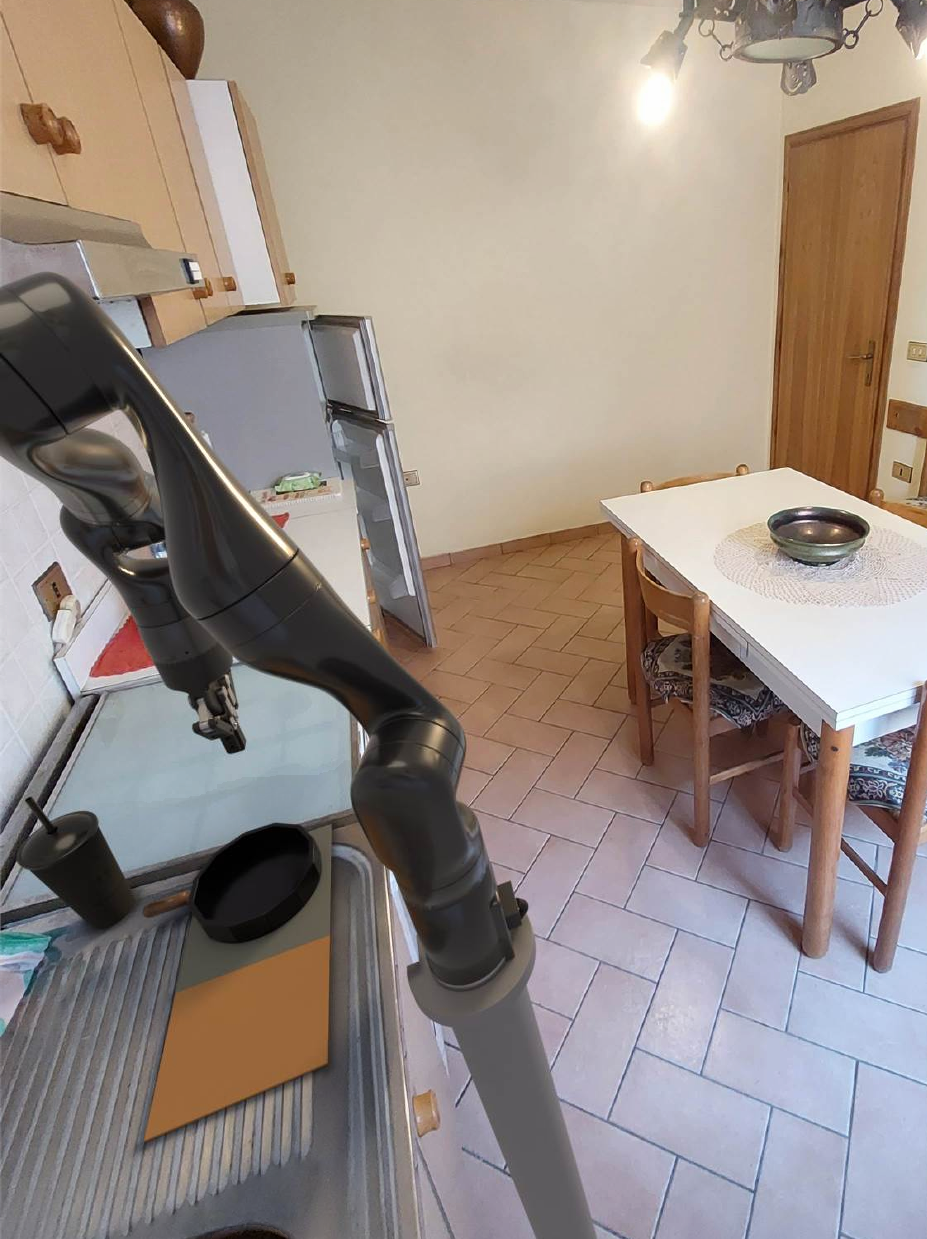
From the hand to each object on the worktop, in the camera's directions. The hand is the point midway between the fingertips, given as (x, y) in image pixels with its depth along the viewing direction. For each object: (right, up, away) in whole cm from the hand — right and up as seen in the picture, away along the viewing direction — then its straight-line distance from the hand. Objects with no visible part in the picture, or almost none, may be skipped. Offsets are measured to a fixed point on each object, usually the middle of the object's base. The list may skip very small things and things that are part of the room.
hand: (237, 748), depth 87 cm
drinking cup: (-13, -19, -5) cm, 23 cm away
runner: (+9, -20, -12) cm, 25 cm away
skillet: (+3, -17, -5) cm, 18 cm away
